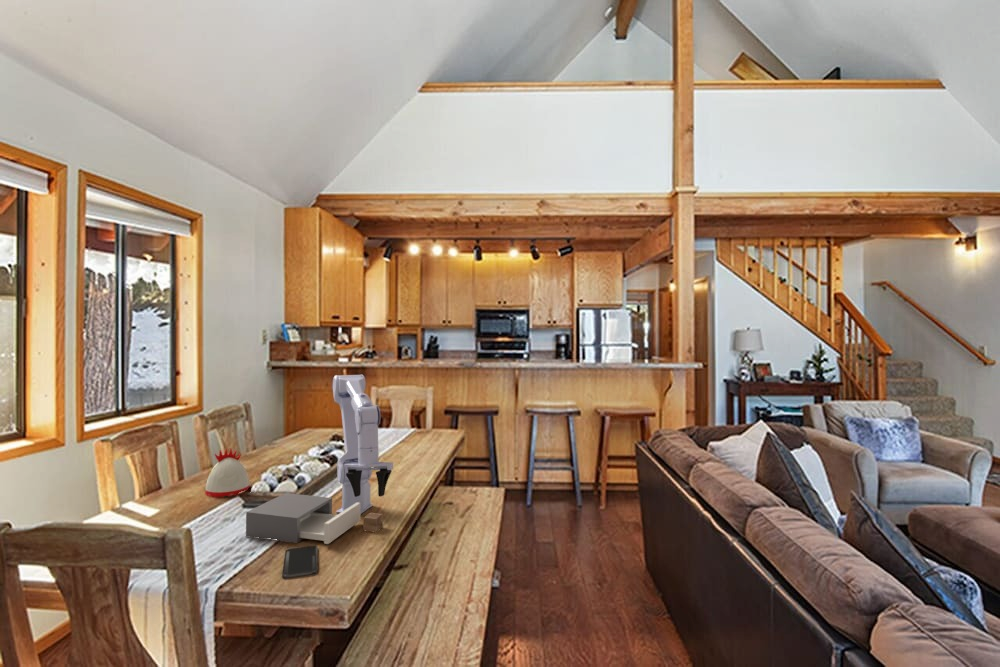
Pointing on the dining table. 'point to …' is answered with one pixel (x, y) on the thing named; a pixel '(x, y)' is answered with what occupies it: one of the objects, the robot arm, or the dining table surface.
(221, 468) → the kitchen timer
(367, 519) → the walnut block
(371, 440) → the robot arm
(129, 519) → the dining table surface
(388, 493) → the dining table surface
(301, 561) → the phone
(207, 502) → the dining table surface
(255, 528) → the box housing
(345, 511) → the tray
